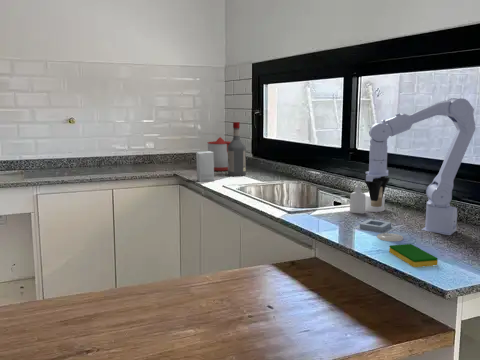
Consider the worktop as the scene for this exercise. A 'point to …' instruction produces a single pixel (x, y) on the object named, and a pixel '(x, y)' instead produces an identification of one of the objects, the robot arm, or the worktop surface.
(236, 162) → the liquor
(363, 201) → the eye dropper bottle
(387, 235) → the coaster
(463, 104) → the robot arm
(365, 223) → the pocket block
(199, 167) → the skincare box
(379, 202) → the dowel
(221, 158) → the citrus juicer
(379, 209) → the base with upright slab
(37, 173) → the worktop surface
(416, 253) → the dish sponge
